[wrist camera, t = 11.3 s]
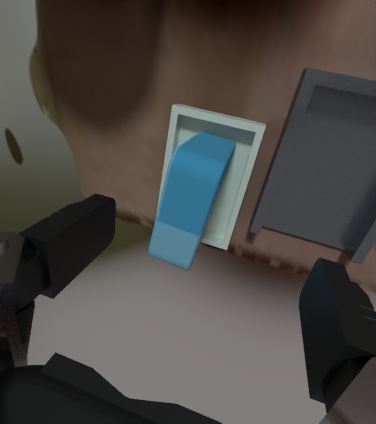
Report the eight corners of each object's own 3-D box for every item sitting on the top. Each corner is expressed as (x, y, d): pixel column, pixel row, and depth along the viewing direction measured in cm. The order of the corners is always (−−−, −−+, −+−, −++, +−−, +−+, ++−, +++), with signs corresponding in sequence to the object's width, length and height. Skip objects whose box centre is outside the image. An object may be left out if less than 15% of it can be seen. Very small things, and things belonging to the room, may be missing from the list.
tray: (265, 123, 30) (265, 126, 28) (228, 241, 38) (226, 250, 36) (178, 103, 31) (172, 104, 29) (160, 220, 39) (154, 227, 37)
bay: (446, 97, 25) (467, 98, 22) (353, 250, 33) (360, 264, 31) (303, 69, 27) (307, 67, 24) (250, 221, 35) (249, 231, 33)
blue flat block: (208, 223, 37) (186, 277, 26) (179, 212, 37) (145, 261, 27) (238, 140, 31) (224, 167, 20) (202, 128, 31) (171, 149, 21)
